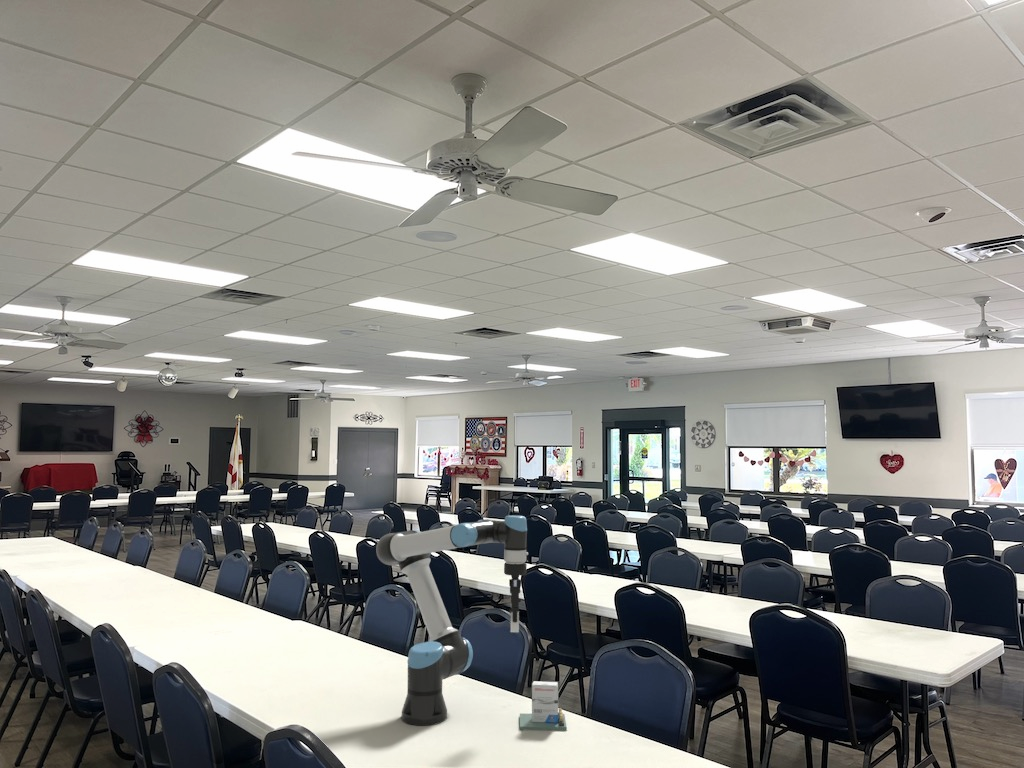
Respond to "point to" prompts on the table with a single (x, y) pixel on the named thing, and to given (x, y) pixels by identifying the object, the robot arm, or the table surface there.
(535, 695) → the ink box
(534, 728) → the header board
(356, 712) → the table surface
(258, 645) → the table surface
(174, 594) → the table surface
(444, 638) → the robot arm
